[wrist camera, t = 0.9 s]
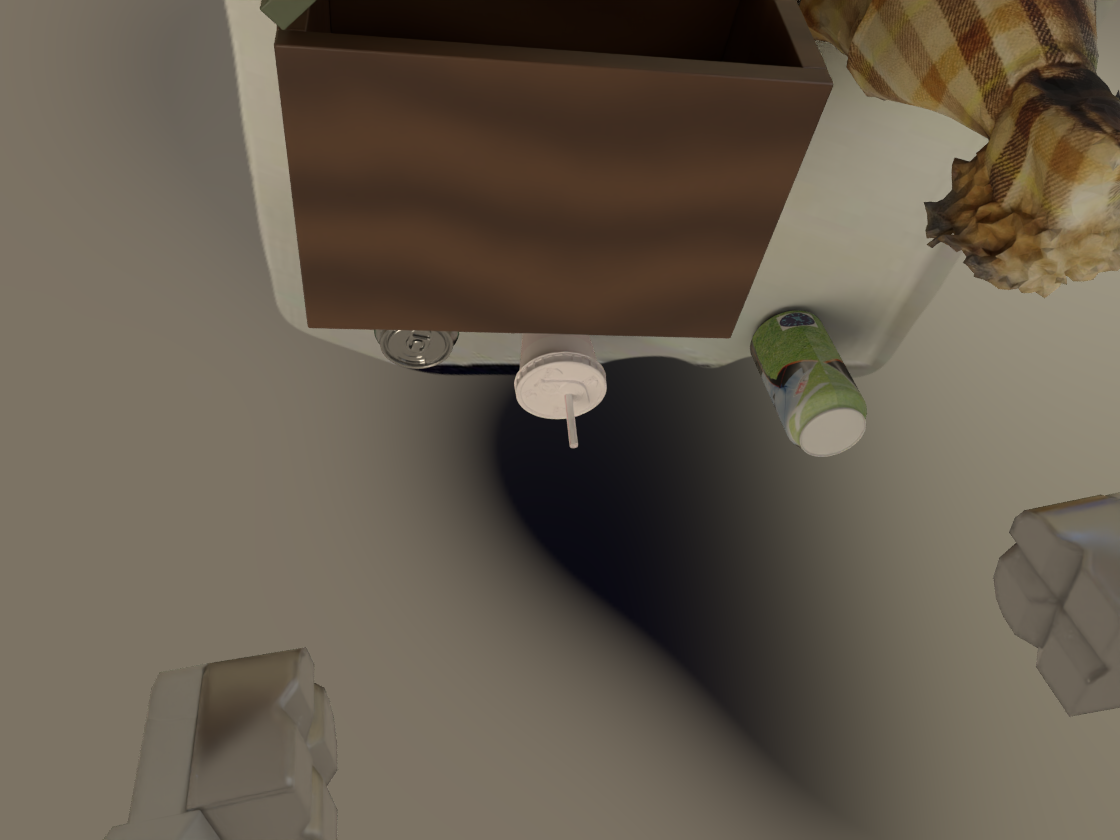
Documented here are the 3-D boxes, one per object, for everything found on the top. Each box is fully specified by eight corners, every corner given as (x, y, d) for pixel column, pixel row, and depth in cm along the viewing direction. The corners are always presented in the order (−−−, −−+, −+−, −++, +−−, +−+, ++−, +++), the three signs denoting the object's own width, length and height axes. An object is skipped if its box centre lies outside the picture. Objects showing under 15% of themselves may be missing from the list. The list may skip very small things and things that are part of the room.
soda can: (371, 231, 64) (364, 364, 57) (389, 174, 60) (385, 308, 53) (443, 247, 66) (445, 379, 58) (464, 193, 62) (470, 326, 55)
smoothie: (559, 331, 74) (577, 479, 65) (491, 302, 70) (499, 454, 62) (609, 281, 70) (635, 431, 61) (539, 247, 66) (555, 402, 58)
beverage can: (736, 351, 77) (768, 471, 70) (769, 288, 72) (807, 412, 65) (805, 357, 79) (844, 474, 72) (843, 295, 73) (889, 417, 66)
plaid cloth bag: (1155, -114, 49) (1352, 164, 33) (969, 99, 59) (1049, 392, 43) (932, -249, 45) (1028, -15, 29) (776, 1, 56) (785, 276, 40)
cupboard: (315, -196, 43) (273, 44, 31) (729, -150, 46) (835, 83, 34) (333, 75, 54) (307, 328, 42) (666, 97, 57) (730, 339, 45)
